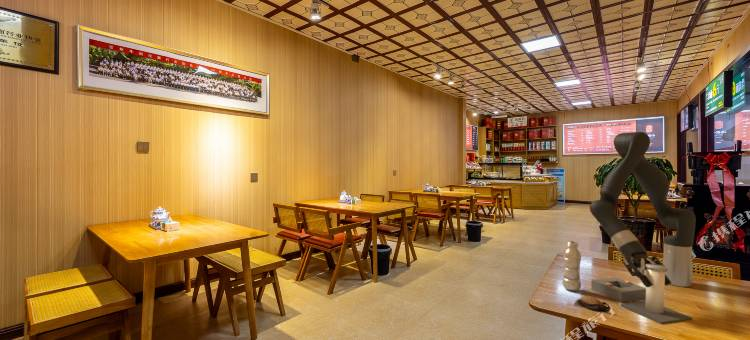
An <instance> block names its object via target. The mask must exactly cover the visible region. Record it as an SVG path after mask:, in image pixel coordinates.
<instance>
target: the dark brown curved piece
mask: <svg viewBox="0 0 750 340" xmlns="http://www.w3.org/2000/svg"><path fill="white" fill-rule="evenodd" d="M573 306H576V307H579V308H582V309H586V310H589V311H594V312H599V313H606V314H607V313H609V311H610V310H611V307H610V305H609V304H608V303H606V301H601V300H599V299H598V298H596V297H593V296H590V295H589V296H588V295H587V296H586V295H585V296H581V297H580V298H577V299H576V301H574V302H573Z"/></svg>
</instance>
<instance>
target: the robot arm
mask: <svg viewBox="0 0 750 340" xmlns="http://www.w3.org/2000/svg"><path fill="white" fill-rule="evenodd" d="M650 145H651V138H650V136H649V135H648V133H646V132H645V131H634V132H633V131H632V132H631V131H630V132H621V133H618V134H616V136H615V137H614V139H613V146H614V149H615V151H616V152H617V154H618V155H619V157H621V159H622V161H621V162H620V163H619V164H618V165H617V166H615V167H614V168H613V169H612V170H611V171H610V172H609V173H608V174H607V176H606V177H605V179H604V180H603V183H602V185H601V187H600V190H599V195H600V198H599V199H595V200H593V201H592V202H591V203H590V205H589V211H590V213H591V214H592V216H593V218H594V219H595V220H596V221H597V222H598V223H599V224H600V225H601V227H602V228H603V230H604V231H605V232H606V234H607V235H608V237H609V238H610V239H611V240H612V243H613V245H615V247H616V249H617V250H618V251H619V252H620V254H621V255H622V256H623V258H624V259H623V260H622V264H623V265H624V267H625V268H626V269H627V271H628V273H629V274H630V275H631V276H632V277H636V278H637V279H638V278H639V280H640V281H641V282H642V284H643V285H644V286H645V288H646V287H650V286H652V285H653V284H652V283H651V281H650V280H649V279H648V277H647V276H646V274H645V271H646V270H647V268H646V264H647V263H651V264H658V265H662V266H665V267H666V271H665V286H670V285H671V286H677V287H681V288H682V287H684V288H685V287H686V288H687V287H688V288H689V287H691V286H692V285H693V266H694V265H693V262H692V258H693V242H694V239H695V231H696V223H697V221H696V219H697V218H696V215H695V213H694V211H692V210H691V209H686V208H680V207H679V208H678V207H673V206H671V204H670V203H669V201H668V198H667V197H668V194H669V191H670V181H669V180H668V179H667V177H666V175H665V173H664V172H663V171H662V170H661V169H660V168H659V167H658V166H656V165H655V164H653V163H652V162H650V161H648V160H647V159H646V158H645V157H644V156H645V155H646V152H647V151H648V150H649V147H650ZM632 174H633V176H634V177H635V179H636V180H637V182H638V184H639V185H640V187H641V188H642V190H643V192H644V193H645V194H646V196H647V198H648V200H649V201H650V203H651V206H652V207H653V209H654V212H655V213H656V216H657V218H658V220H659V223H660V224H661V225H662V226H664V227H666V228H669V229H672V230H673V229H675V230H676V232H675V234H673V235H672V234H671V235H665V236H664V238H663V257H662V259H663V260H662V262H663V263H662V262H661V261H660V259H659V258H658V257H657V256H655V255H653V256H652V257H649V255H647V253H648V250H647V249H646V248H645V247H644V245H643V244H642V243H641V241H639V239H638V238H637V237H636V235H635V234H634V233H633V232H631V230H630V229H629V228H628V227H627V226H626V224H625V223H624V221H622V220H621V219H620V218H619V217H618V215H617V214H616V211H617V205H618V201H619V198H620V195H621V194H622V192H623V189H624V187H625V185H626V183H627V182H628V179H629V178H630V176H631V175H632Z"/></svg>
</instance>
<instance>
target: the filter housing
mask: <svg viewBox="0 0 750 340" xmlns="http://www.w3.org/2000/svg"><path fill="white" fill-rule="evenodd" d="M590 288H591V290H592V291H594V292H597V293H599V294H602V295H604V296H606V297H608V298H611V299H613V300H615V301H617V302H619V303H627V302H633V301H634V302H635V301H646V287H643V286H642V285H641V286H640V285H638V284H635V283H633V282H632V281H631V280H625V279H622V278H619V277H608V278H607V277H606V278H599V279H591V287H590Z"/></svg>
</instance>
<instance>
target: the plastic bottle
mask: <svg viewBox="0 0 750 340" xmlns="http://www.w3.org/2000/svg"><path fill="white" fill-rule="evenodd" d="M578 248H579V245H578V242H577V241H574V240H573V241H572V240H570V241H569V240H568V241H567V243H566V249H565V250H564V251H563V253H562V257H563V262H564V263H563V264H564V272H563V278H562V287H564V289H565V290H568V291H571V292H572V291H573V292H574V291H575V292H578V291H580V290H581V288H582V282H581V274H580V267H581V261H582V254H581V253H582V252H581V251H580V250H579V249H578Z"/></svg>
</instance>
